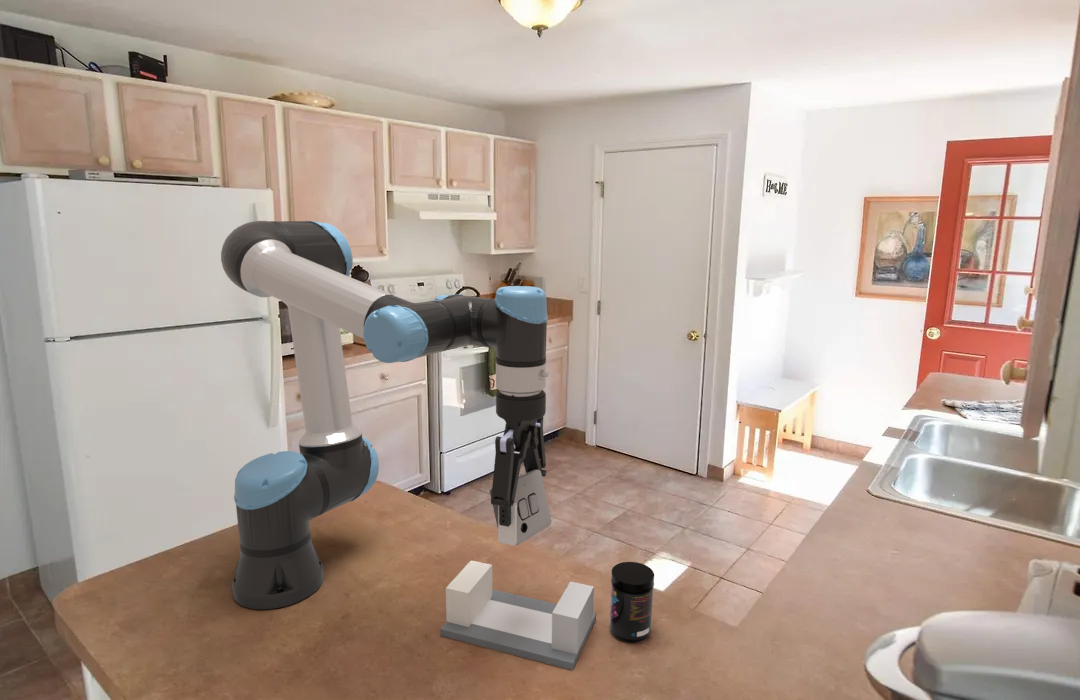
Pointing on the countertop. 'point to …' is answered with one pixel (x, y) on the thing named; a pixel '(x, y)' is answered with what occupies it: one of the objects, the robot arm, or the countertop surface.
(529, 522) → the electrical switch
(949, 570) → the countertop surface
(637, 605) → the supplement container
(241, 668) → the countertop surface
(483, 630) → the rail plate
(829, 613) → the countertop surface
